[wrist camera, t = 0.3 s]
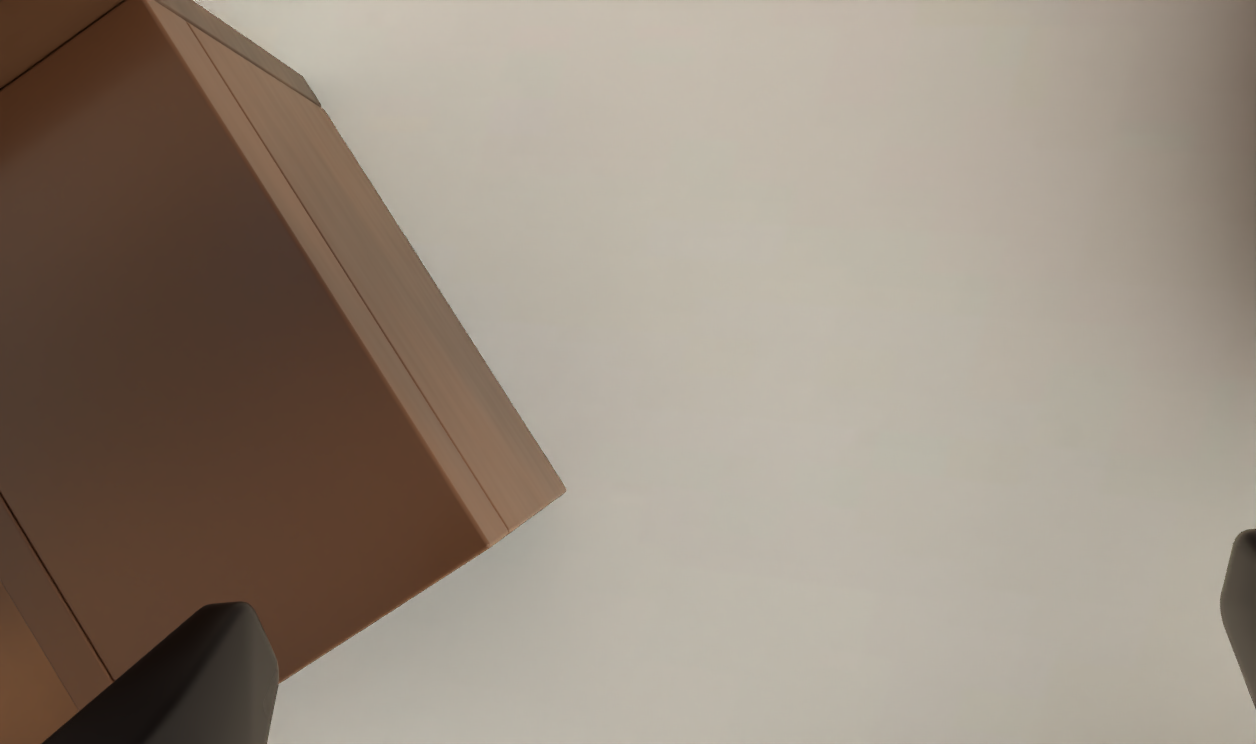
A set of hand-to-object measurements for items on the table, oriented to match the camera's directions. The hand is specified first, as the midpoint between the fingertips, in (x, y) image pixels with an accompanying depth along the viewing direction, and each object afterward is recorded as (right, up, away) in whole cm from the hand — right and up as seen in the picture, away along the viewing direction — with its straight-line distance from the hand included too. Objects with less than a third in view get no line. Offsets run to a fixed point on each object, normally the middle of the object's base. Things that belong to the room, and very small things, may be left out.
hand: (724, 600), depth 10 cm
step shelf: (-13, 0, +16) cm, 21 cm away
